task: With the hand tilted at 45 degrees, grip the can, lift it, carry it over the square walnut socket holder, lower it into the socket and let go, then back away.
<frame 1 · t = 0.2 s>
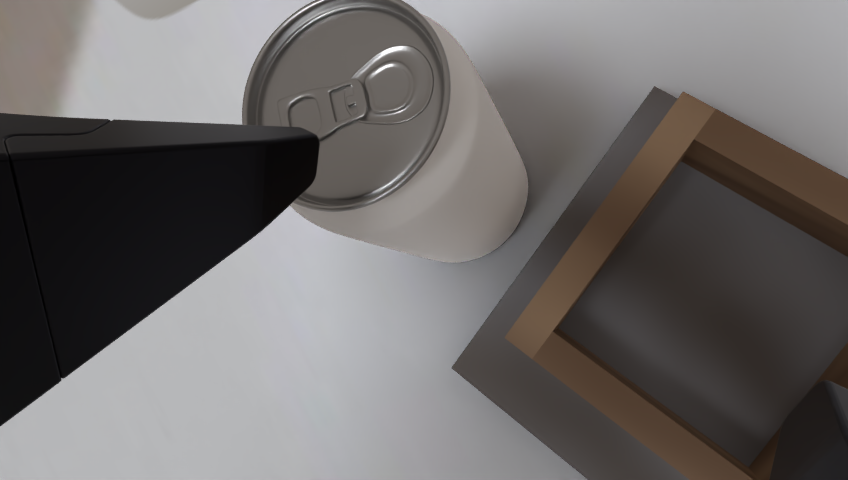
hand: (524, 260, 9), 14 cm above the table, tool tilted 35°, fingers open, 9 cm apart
socket holder: (708, 307, 21), on the table
can: (458, 193, 25), on the table
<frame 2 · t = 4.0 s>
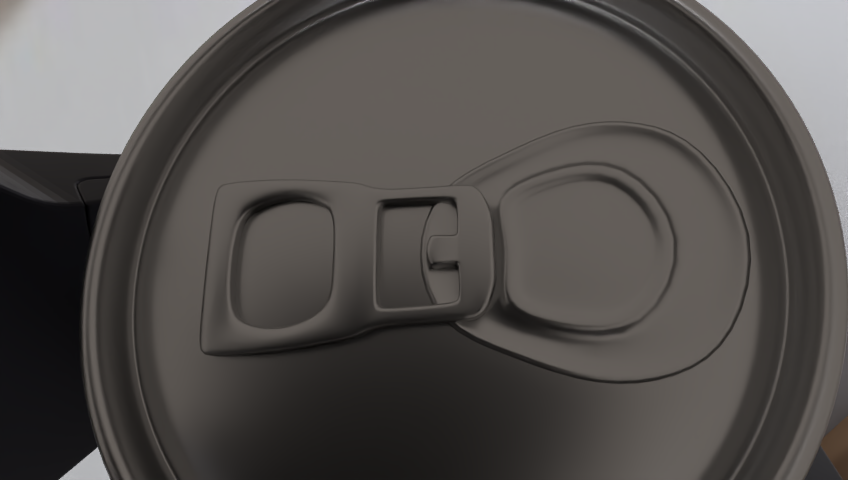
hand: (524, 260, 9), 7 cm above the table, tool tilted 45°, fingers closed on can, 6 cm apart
can: (509, 364, 15), on the table, touching gripper
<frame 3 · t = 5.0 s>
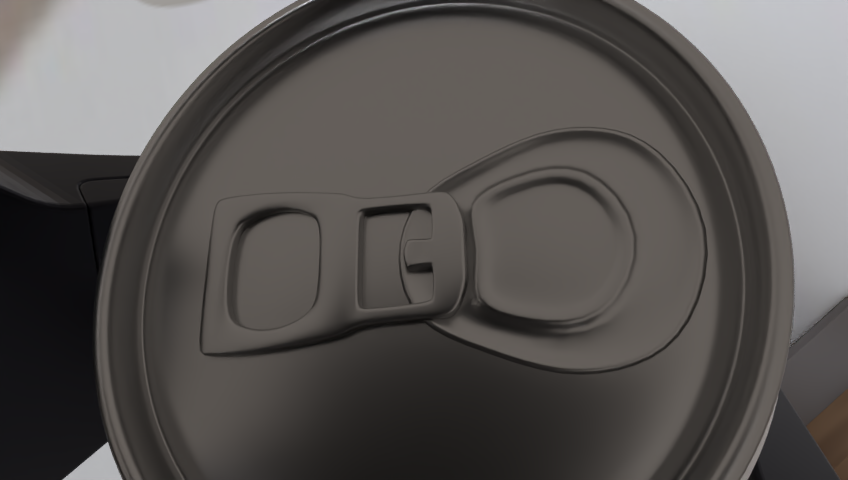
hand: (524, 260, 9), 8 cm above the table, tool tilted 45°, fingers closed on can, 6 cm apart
can: (529, 373, 15), point 1 cm above the table, touching gripper
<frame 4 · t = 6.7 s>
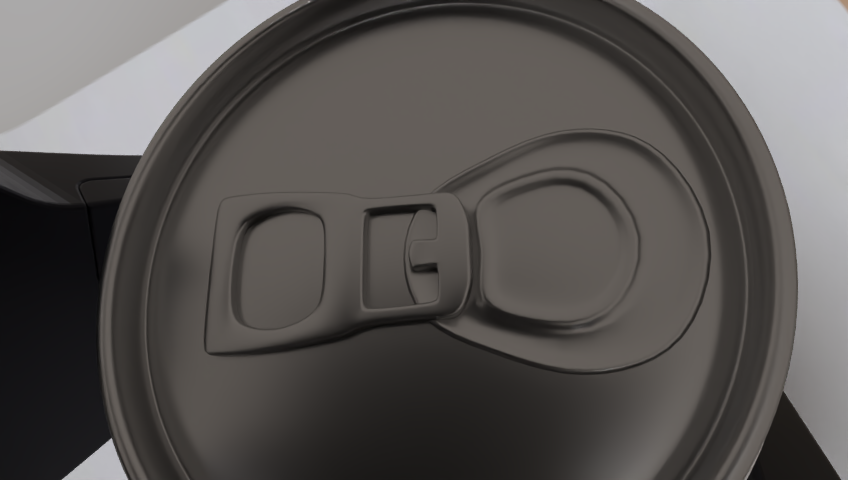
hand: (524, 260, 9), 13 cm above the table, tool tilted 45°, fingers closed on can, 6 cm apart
can: (525, 370, 16), point 6 cm above the table, touching gripper
when the fingers open (8 cm above the table, at t = 8.3 s): can stays where it is, resting on socket holder.
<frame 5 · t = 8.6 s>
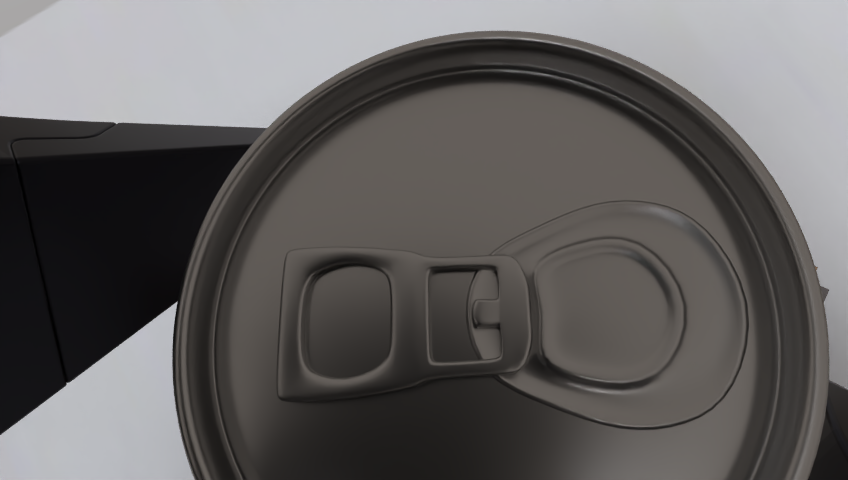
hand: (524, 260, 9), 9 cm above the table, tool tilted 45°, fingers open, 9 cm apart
can: (520, 377, 16), point 1 cm above the table, touching socket holder
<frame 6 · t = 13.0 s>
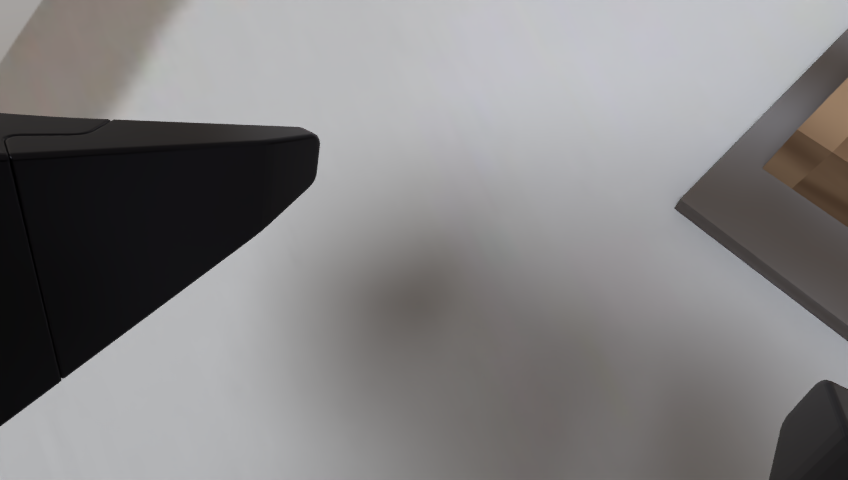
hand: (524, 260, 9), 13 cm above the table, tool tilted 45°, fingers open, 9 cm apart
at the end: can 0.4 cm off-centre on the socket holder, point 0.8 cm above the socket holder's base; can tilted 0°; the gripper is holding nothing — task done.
